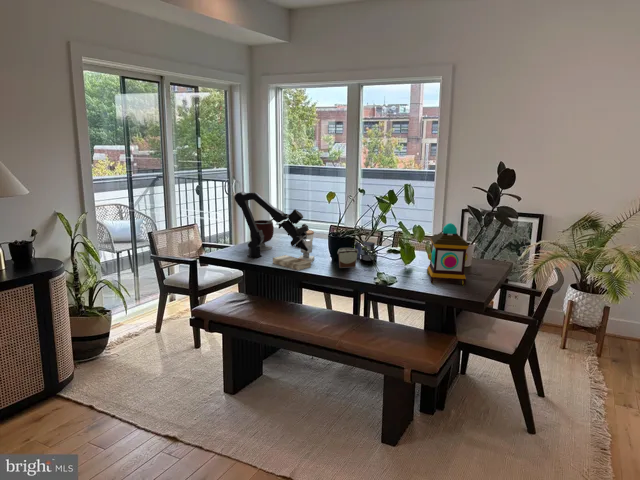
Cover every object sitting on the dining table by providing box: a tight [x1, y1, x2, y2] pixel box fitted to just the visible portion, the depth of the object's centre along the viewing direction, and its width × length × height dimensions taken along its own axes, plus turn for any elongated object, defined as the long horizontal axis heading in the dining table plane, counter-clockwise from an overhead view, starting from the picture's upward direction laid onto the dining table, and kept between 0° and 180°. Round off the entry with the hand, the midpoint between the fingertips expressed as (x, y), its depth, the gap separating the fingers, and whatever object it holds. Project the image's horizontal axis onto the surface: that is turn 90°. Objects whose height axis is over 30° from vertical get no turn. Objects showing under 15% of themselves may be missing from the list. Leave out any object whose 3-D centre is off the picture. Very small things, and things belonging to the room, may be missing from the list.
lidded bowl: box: [305, 229, 315, 242], centre depth 317 cm, size 13×13×11 cm
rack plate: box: [272, 254, 312, 271], centre depth 268 cm, size 20×10×3 cm, turn 49°
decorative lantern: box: [426, 222, 469, 286], centre depth 246 cm, size 20×20×30 cm
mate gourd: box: [254, 218, 274, 251], centre depth 303 cm, size 16×14×20 cm
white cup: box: [300, 239, 313, 258], centre depth 277 cm, size 7×7×10 cm
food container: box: [336, 247, 359, 269], centre depth 268 cm, size 12×6×10 cm, turn 108°
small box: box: [354, 240, 376, 261], centre depth 284 cm, size 11×6×10 cm, turn 62°
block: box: [298, 254, 315, 264], centre depth 278 cm, size 8×8×2 cm
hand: (308, 249), depth 277 cm, fingers closed on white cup, 7 cm apart
